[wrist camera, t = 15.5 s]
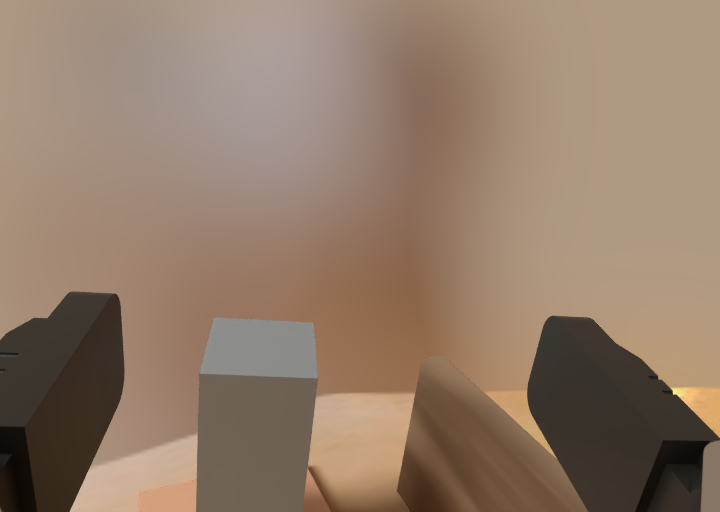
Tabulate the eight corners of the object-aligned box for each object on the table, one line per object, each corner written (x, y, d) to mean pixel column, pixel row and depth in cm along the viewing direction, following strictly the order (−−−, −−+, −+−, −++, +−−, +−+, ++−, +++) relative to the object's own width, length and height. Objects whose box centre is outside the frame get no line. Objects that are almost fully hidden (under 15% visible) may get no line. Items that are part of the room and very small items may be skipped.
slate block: (208, 498, 33) (214, 315, 29) (294, 498, 34) (313, 321, 29) (194, 578, 28) (199, 373, 24) (295, 577, 29) (317, 378, 25)
